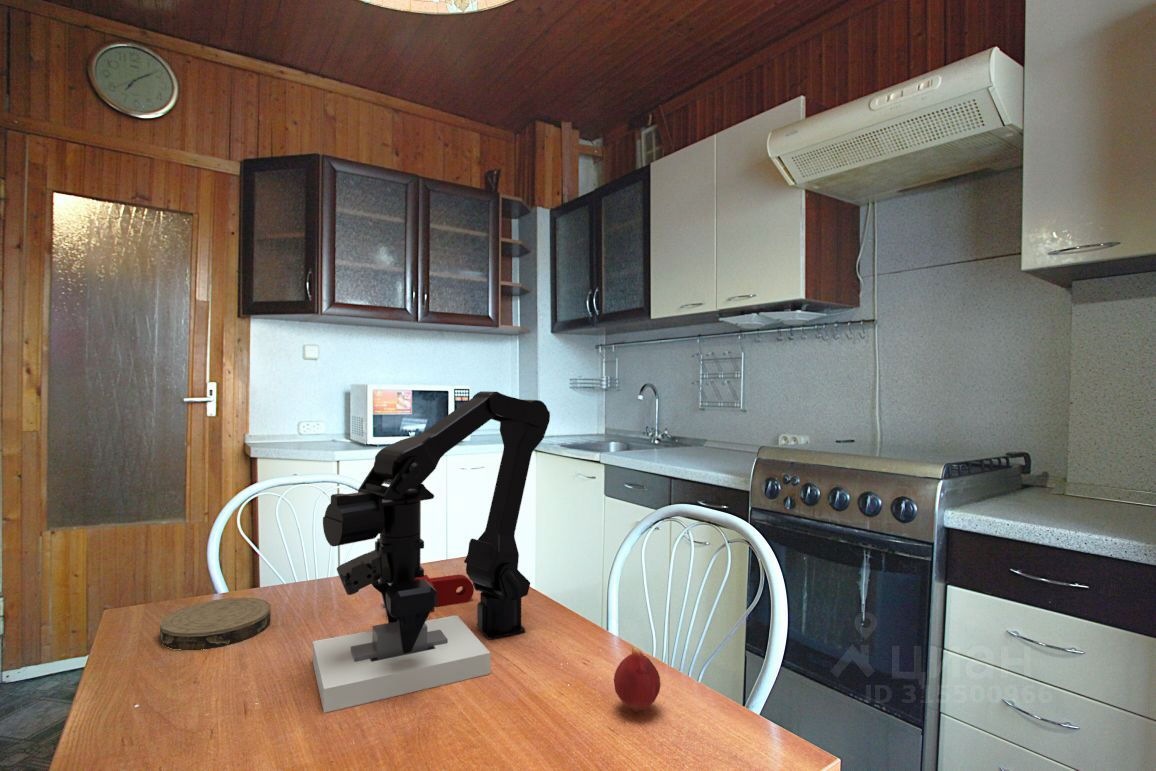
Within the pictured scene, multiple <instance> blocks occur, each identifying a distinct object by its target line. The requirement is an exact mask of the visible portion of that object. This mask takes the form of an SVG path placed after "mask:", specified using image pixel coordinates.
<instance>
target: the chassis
mask: <svg viewBox="0 0 1156 771" xmlns="http://www.w3.org/2000/svg"><path fill="white" fill-rule="evenodd" d="M425 624H426V625H427V632H430V631H435V630H441V631H442V633H443V634H444V635H445V637H446V638H447V639H448V643H446V644H441V645H436V646H431V647H427V651H422V652H417V653H412V654H407V655H402V656H397V657H392V658H388V659H383V660H378V661H373V662H372V659H367V660H362V661H357V662H355V661H354V658H353V656H352V653H351V646H356V645H361V644H366V643H372V640H373V629H372V630H368V631H363V632H357V633H351V634H345V635H339V636H335V637H330V638H325V639H319V640H313V641H312V664H313V669H314V673H315V679H316V683H317V688H318V692H319V698H320V702H321V707H322V710H323V714H325V713H329V712H333V711H338V710H343V709H346V708H351V707H356V706H359V705H364V704H368V703H373V702H377V701H381V700H385V699H389V698H390V699H391V698H393V697H399V696H402V695H406V694H410V693H411V694H412V693H413V692H414V693H415V692H419V691H422V690H427V689H432V688H437V687H441V686H444V685H449V684H453V683H457V682H461V681H466V680H470V679H474V678H478V677H483V676H487V675H490V674H491V651H489V649H488V648H487V647H486V646H485V645H484V644H483V643H482V641H480V640H479V638H478V637H477V636H476V634H474V632H473V631H471V629H470V628H469V627H468V626H467V624H466V623H465V622H464V621H463V620H462V619H461V618H460V616H458V615H449V616H445V617H440V618H434V619H433V618H432V619H428V620H427V619H426V621H425Z"/></svg>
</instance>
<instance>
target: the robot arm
mask: <svg viewBox="0 0 1156 771" xmlns="http://www.w3.org/2000/svg"><path fill="white" fill-rule="evenodd" d="M550 414H551V412H550V411H549V409H548V407H547V405H546V403H544V402H543V401H542V400H539V399H521V398H518V397H513V396H509V395H506V394H503V393H501V392H498V391H485V390H484V391H478V392H477V393H475V394H474V395H473V396H472V398H471V399H469V400H467V401H466V402H464V403H463V404H462V405H460V406H459V407H458V408H455V410H453V411H451V412H450V413H449V414H447V415H446V416H444V417H443V418H442V419H440V420H438V421H437V422H436V423H434V424H432V425H431V426H430V427H428V429H426V430H424V431H423V432H420V433H419V434H417V435H413V436H410V437H407V438H406V437H405V438H404V439H401V440H398V441H396V442H393V443H392V444H390V445H387V446H385V447H383V448H381V450H379V451H378V452H377V453H376V454H375V456H374V462H373V467H371V469H370V471H369V472H368V474H367V476H366V477H365V478H364V480H363V481H362V483H361V485H360V486H359V487H358V490H357V492H352V493H333V494H331V495H330V503H329V504H328V505H327V507H326V509H325V511H324V512H325V513H324V516H323V517H322V528H323V533H324V534H323V535H324V537H325V539H326V541H327V543H328V544H329V545H330V546H331V547H338V546H343V545H349V544H353V543H354V544H355V543H359V542H365V541H369V540H374V539H376V541H374V550H371V551H369V552H366V553H364V554H361V555H359V556H357V557H355V558H352V559H350V560H348V561H346V562H344V563H342V564H340V565H339V566H337V567H336V571H337V574H338V576H339V579H340V581H341V583H342V584H341V585H342V586H343V588H344V591H345V593H346V595H347V596H352V595H354V594H356V593H358V592H359V591H360V590H361V589H364V588H365V587H367V586H370V585H371V586H372V587H373V588H374V589H376V590H377V592H379V593H380V594H381V597H382V602H383V604H384V610H385V613H386V618H387V623H392V622H398V627H399V633H400V639H401V645H402V650H403V653H409V652H411V651H412V649H413V647H414V645H415V642H416V640H417V638H418V636H419V634H420V631H421V629H422V627H423V625H424V623H425V621H427V619H428V617H429V615H430V614H431V613H430V612H431V611H432V610H433V609H434V610H435V608H437V607H436V606H437V591H436V590H435V589H434V588H433V587H432V585H431V584H429V583H428V582H427V581H426V580H425V579H424V580H417V581H414V580H415V578H418V577H424V575H425V569H424V568H423V567H422V566H421V555H422V554H421V552H422V551H421V550H422V549H425V541H424V540H423V539H422V538H421V533H422V532H421V530H422V529H421V525H422V524H421V519H422V518H421V516H422V515H421V514H422V513H421V511H422V508H421V506H422V503H421V502H422V501H429V500H432V499H434V497H435V495H434V493H432V492H431V490H429V489H427V487H426V486H425V484H424V482H425V480H427V479H428V477H429V476H430V475H431V474H432V473H434V471H435V470H436V469H437V466H438V464H439V462H440V460H441V458H442V457H444V455H445V454H446V453H448V452H449V451H450V450H451V449H453V448H455V447H456V446H457V445H459V443H461V442H462V441H463V440H465V439H467V437H469V436H470V435H471V434H473V433H474V432H476V431H477V430H479V429H480V428H481V427H483V426H484V425H485V424H487V423H488V422H489V421H491V420H493V421H496V422H499V433H500V437H501V441H502V444H503V451H502V456H501V459H500V464H499V469H498V473H497V477H496V481H495V486H494V492H493V494H492V495H493V496H492V499H491V504H490V509H489V513H488V518H487V521H486V526H485V530H484V531H483V533H482V534H481V535H480V536H479V537H478V539H476V538H471V539H470V540H469V543H468V549H467V550H468V551H467V554H466V557H465V559H464V561H463V563H464V564H466V565H465V566H466V567H465V573H466V575H467V576H468V577H467V578H468V579H469V580H470V581H471V582H472V584H473V587H474V591H479V592H480V594H479V595H480V597H479V598H480V599H479V600H480V601H479V602H478V603H477V604H476V605H477V608H476V609H477V610H476V611H477V613H476V615H477V616H476V619H477V620H476V627H477V628H478V629H479V631H481V633H483V634H484V636H485V637H486V638H487V639H488V640H492V639H498V638H502V637H507V636H511V635H517V634H522V633H525V632H526V628H525V627H524V626H523V625H522V598H523V597H526V596H528V594H529V591H530V587H531V582H530V581H529V579H528V578H526V576H524V574H522V573H521V571H520V570H519V569H518V568H519V558H520V555H519V554H520V553H519V549H518V546H517V542H516V538H515V537H516V536H515V534H516V529H517V524H518V520H519V516H520V515H519V514H520V510H521V505H522V501H523V496H524V491H525V487H526V483H527V477H528V472H529V468H530V465H531V459H532V455H533V452H534V451H535V450H536V449H537V447H538V446H539V445H540V443H541V442H542V441H543V439H544V438H545V435H546V434H547V433H546V431H547V430H548V427H549V424H550V419H551V415H550ZM384 484H385V485H384ZM387 485H388V486H387ZM378 536H379V537H378ZM377 537H378V538H377Z"/></svg>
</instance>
